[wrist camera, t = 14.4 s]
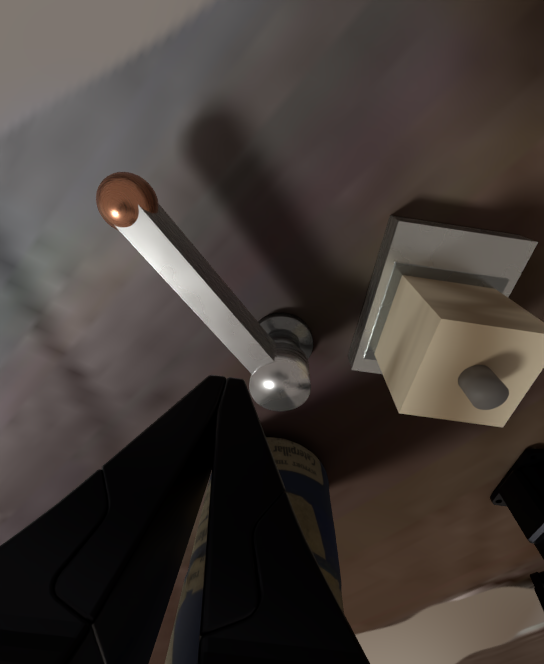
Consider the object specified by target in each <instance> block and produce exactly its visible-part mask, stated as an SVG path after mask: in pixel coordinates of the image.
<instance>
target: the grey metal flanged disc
mask: <svg viewBox="0 0 544 664" xmlns="http://www.w3.org/2000/svg"><path fill="white" fill-rule="evenodd" d="M258 323H259V324H260V325H261V326H262V328H263V329H264V330H265V331H266V332H267V334H268V335H269V336H270V337H271V338H272V340H273V341H274V342H286V343H290V344H293V345H295V346H297V347H298V348H300V349H301V350H302V351H303V352H304V353H305V355H306V357H307V359H308V358H309V357H310V355H311V353H312V349H313V339H312V334H311V331H310V329H309V327H308V325H307V324H306V323H305V322H304V321H303V320H302V319H300V318H298V317H296V316H294V315H291V314H287V313H275V314H271V315H268V316H266V317H264V318H262V319H261V320H260V321H259V322H258Z"/></svg>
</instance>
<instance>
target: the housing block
mask: <svg viewBox="0 0 544 664" xmlns="http://www.w3.org/2000/svg"><path fill="white" fill-rule="evenodd" d="M374 355H375V357H376V359H377V362H378V364H379V367H380V369H381V371H382V374H383V376H384V379H385V381H386V383H387V386H388V388H389V391H390V393H391V395H392V398H393V400H394V403H395V405H396V407H397V410H398V412H399V413H401V414H408V415H415V416H423V417H430V418H437V419H445V420H452V421H460V422H467V423H474V424H482V425H489V426H496V427H504V425H505V424H506V422H507V421H508V419H509V418H510V416H511V415H512V413H513V412H514V410H515V409H516V407H517V406H518V405H519V403H520V402H521V400H522V399H523V397H524V396H525V394H526V393H527V391H528V390H529V388H530V387H531V385H532V384H533V382H534V381H535V380H536V378H537V377H538V375H539V374H540V372H541V371H542V369H543V368H544V322H542V321H541V320H540V319H538V318H537V317H535V316H534V315H532V314H531V313H529V312H528V311H527V310H525V309H524V308H522V307H521V306H519V305H518V304H516V303H515V302H514V301H512V300H511V299H509V298H508V297H506V296H505V295H503V294H502V293H500V292H499V291H498V290H496V289H494V288H487V287H480V286H474V285H467V284H460V283H453V282H447V281H440V280H433V279H427V278H420V277H413V276H407V275H402V277H401V280H400V283H399V285H398V288H397V291H396V294H395V297H394V300H393V302H392V305H391V308H390V311H389V314H388V316H387V319H386V322H385V325H384V328H383V331H382V333H381V336H380V339H379V342H378V345H377V348H376V350H375V353H374Z"/></svg>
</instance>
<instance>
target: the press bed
mask: <svg viewBox="0 0 544 664" xmlns="http://www.w3.org/2000/svg"><path fill="white" fill-rule="evenodd" d="M537 243H538V242H536V241H534V240H531V239H529V238H526V237H523V236H521V235H516V234H510V233H503V232H496V231H490V230H483V229H477V228H470V227H464V226H457V225H450V224H444V223H437V222H431V221H424V220H417V219H411V218H404V217H398V216H391V215H390V218H389V222H388V225H387V228H386V232H385V235H384V238H383V241H382V245H381V248H380V251H379V255H378V258H377V261H376V265H375V268H374V271H373V274H372V278H371V281H370V284H369V288H368V291H367V294H366V298H365V301H364V304H363V307H362V311H361V314H360V317H359V321H358V324H357V327H356V331H355V334H354V337H353V340H352V344H351V347H350V350H349V354H348V359H349V363H350V366H351V370H356V371H363V372H370V373H378V374H382V371H381V369H380V367H379V364H378V362H377V359H376V357H375V355H374V353H375V350H376V348H377V345H378V342H379V339H380V336H381V333H382V331H383V328H384V325H385V322H386V319H387V316H388V314H389V311H390V308H391V305H392V302H393V300H394V297H395V294H396V291H397V288H398V285H399V283H400V280H401V277H402V275H407V276H413V277H420V278H427V279H433V280H440V281H447V282H453V283H460V284H467V285H474V286H480V287H487V288H494V289H496V290H498V291H499V292H500V293H502V294H503V295H505V296H506V297H509V295H510V294H511V292H512V290H513V288H514V286H515V284H516V282H517V281H518V279H519V277H520V275H521V273H522V271H523V269H524V268H525V266H526V264H527V262H528V260H529V258H530V256H531V255H532V253H533V251H534V249H535V247H536V245H537Z"/></svg>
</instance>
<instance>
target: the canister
mask: <svg viewBox="0 0 544 664" xmlns="http://www.w3.org/2000/svg"><path fill="white" fill-rule="evenodd" d="M266 439H267V442H268V444H269V447H270V449H271V452H272V455H273V457H274V460H275V463H276V465H277V468H278V471H279V473H280V476H281V478H282V481H283V484H284V486H285V489H286V493H287V494H288V496H289V499H290V502H291V504H292V507H293V510H294V512H295V514H296V517H297V519H298V522H299V524H300V526H301V529H302V531H303V534H304V536H305V538H306V540H307V542H308V544H309V546H310V548H311V551H312V553H313V555H314V557H315V559H316V561H317V563H318V565H319V567H320V569H321V571H322V573H323V575H324V577H325V579H326V580H327V582H328V584H329V586H330V588H331V590H332V592H333V594H334V596H335V598H336V600H337V602H338V603H339V605H340V607H341V609H342V611H343V613H344V610H343V602H342V593H341V576H340V568H339V560H338V552H337V544H336V536H335V529H334V522H333V516H332V509H331V503H330V495H329V482H328V477H327V473H326V470H325V468H324V466H323V465H322V463H321V462H320V460H319V459H318V458H317V457H316V456H315V455H314V454H313V453H312V452H311V451H309V450H308V449H306V448H305V447H303V446H301V445H299V444H297V443H295V442H292V441H290V440H287V439H282V438H273V437H266ZM211 476H212V473H211ZM211 476H210V480H209V484H208V488H207V492H206V497H205V501H204V505H203V509H202V513H201V518H200V522H199V526H198V530H197V534H196V538H195V543H194V547H193V551H192V556H191V560H190V565H189V569H188V572H187V575H186V577H185V580H184V584H183V589H182V593H181V597H180V601H179V606H178V610H177V614H176V619H175V623H174V627H173V632H172V636H171V640H170V644H169V648H168V652H167V657H166V661H165V664H197V663H198V650H199V637H200V623H201V610H202V596H203V583H204V569H205V556H206V543H207V529H208V516H209V503H210V489H211Z"/></svg>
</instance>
